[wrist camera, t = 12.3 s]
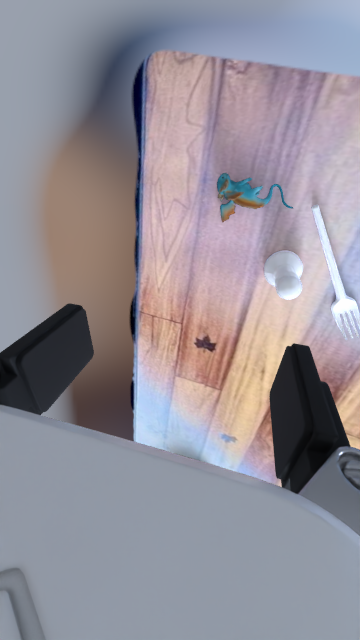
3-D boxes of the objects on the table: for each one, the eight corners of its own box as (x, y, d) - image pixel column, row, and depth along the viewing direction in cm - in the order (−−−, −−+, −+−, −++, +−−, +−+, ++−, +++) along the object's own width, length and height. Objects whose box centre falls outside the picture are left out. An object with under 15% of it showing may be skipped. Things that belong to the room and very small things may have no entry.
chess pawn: (303, 248, 32) (318, 269, 25) (299, 282, 35) (312, 311, 27) (264, 251, 34) (267, 272, 26) (262, 284, 36) (265, 311, 29)
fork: (328, 198, 29) (332, 199, 27) (363, 328, 36) (368, 335, 34) (299, 212, 30) (302, 213, 29) (338, 334, 37) (342, 341, 36)
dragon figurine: (282, 133, 26) (214, 161, 26) (306, 194, 26) (239, 222, 26) (263, 169, 33) (209, 192, 33) (282, 219, 33) (229, 241, 33)
